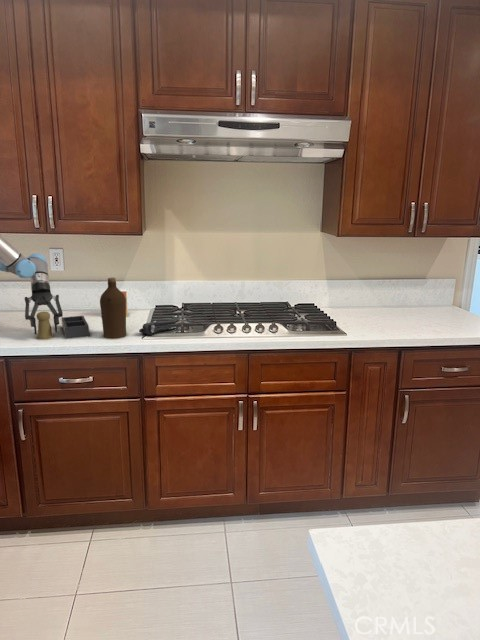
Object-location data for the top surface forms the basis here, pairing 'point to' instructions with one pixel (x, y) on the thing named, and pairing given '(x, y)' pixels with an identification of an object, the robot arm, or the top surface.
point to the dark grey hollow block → (75, 327)
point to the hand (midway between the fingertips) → (46, 331)
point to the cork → (44, 325)
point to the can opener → (150, 327)
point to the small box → (125, 297)
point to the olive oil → (113, 311)
